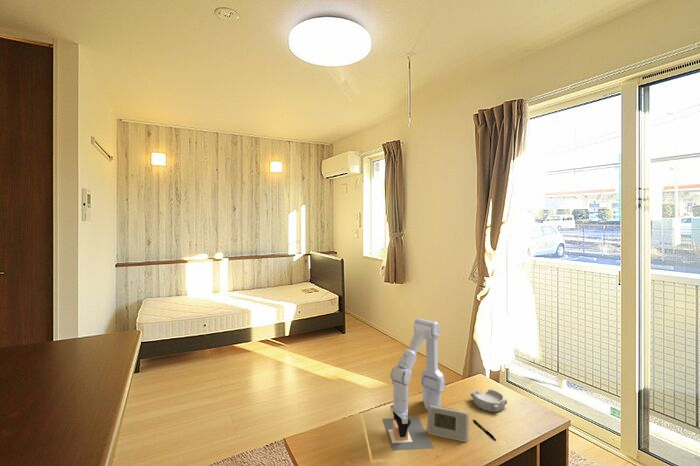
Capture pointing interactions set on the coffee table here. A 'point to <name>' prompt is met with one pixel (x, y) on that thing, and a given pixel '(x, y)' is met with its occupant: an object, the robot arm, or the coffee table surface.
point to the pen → (484, 429)
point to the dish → (489, 400)
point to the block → (396, 432)
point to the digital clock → (448, 423)
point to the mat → (415, 435)
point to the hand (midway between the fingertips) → (400, 430)
